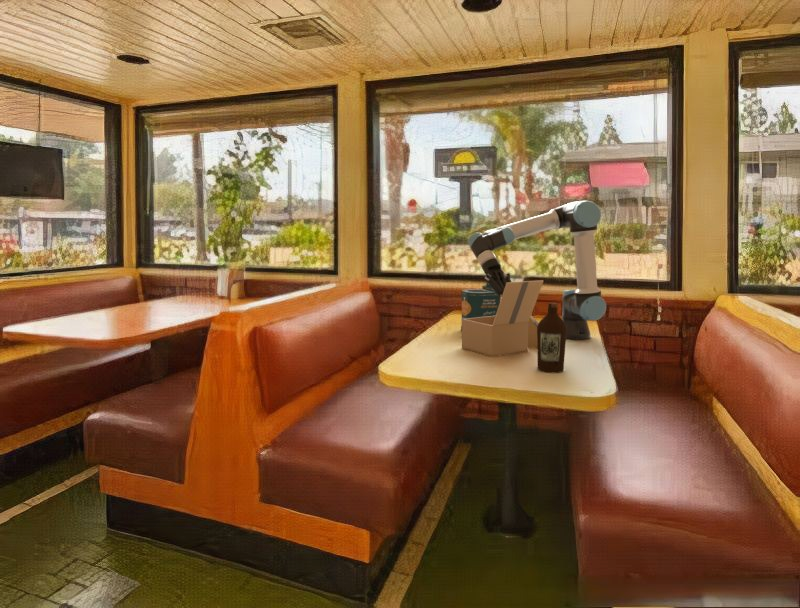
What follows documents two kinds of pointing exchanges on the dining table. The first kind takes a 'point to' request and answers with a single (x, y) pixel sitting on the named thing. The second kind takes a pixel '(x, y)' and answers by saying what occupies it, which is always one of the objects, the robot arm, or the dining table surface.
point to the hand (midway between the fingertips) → (514, 306)
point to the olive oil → (551, 341)
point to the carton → (494, 336)
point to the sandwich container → (532, 332)
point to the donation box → (479, 302)
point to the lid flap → (517, 302)
